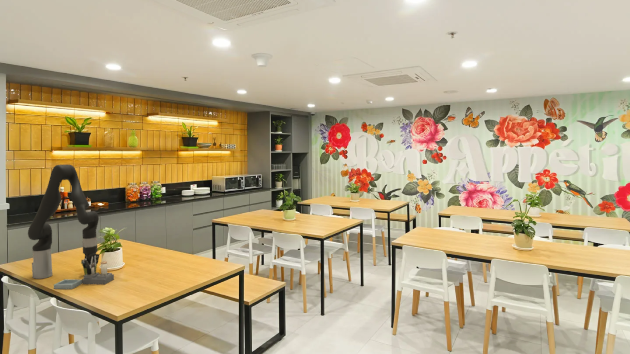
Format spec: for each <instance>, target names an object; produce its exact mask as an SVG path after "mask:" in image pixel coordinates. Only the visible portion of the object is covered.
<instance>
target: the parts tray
mask: <svg viewBox="0 0 630 354" xmlns="http://www.w3.org/2000/svg"><path fill="white" fill-rule="evenodd" d="M81 285H83V284H82V279H69V278H67V279H65V278H64V279H63V280H61V281H57V283H54V284H53V290H73V289H75V288H77V287H79V286H81Z"/></svg>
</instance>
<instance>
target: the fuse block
mask: <svg viewBox="0 0 630 354" xmlns="http://www.w3.org/2000/svg"><path fill="white" fill-rule="evenodd" d="M114 279H115V274H113V272H107V275H106V276H101V273H99V272H96V273H95V274H94V275H88V274H86V275H85V274H84V275H83V278H82V279H81V280H82V284H81V285H107V284H108V283H110V282H112V281H113V280H114Z"/></svg>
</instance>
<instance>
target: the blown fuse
mask: <svg viewBox="0 0 630 354" xmlns="http://www.w3.org/2000/svg"><path fill="white" fill-rule="evenodd" d="M88 263H90V262H88ZM88 265H89V264H88ZM94 274H95V273H94V261H92V264H91V274H90V275H94Z"/></svg>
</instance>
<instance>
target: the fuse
mask: <svg viewBox="0 0 630 354" xmlns="http://www.w3.org/2000/svg"><path fill="white" fill-rule="evenodd" d="M107 273H108V261H106V260H105V261H101V262H100V274H101V276H106V275H107Z"/></svg>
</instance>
